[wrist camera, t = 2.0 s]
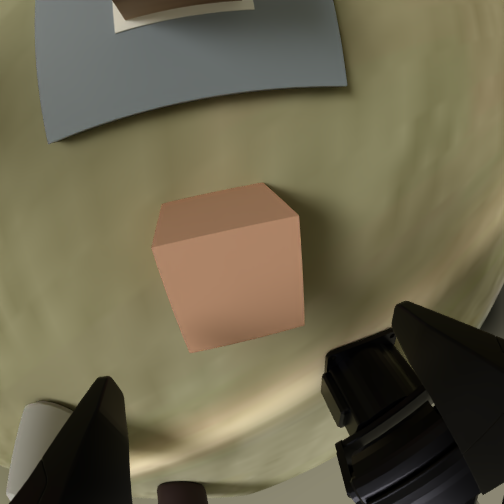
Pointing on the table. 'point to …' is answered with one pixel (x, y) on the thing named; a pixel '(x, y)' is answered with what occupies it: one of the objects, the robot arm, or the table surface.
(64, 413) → the can
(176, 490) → the wine bottle
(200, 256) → the terracotta block
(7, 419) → the table surface
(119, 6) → the walnut base block
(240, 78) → the grey square plate
